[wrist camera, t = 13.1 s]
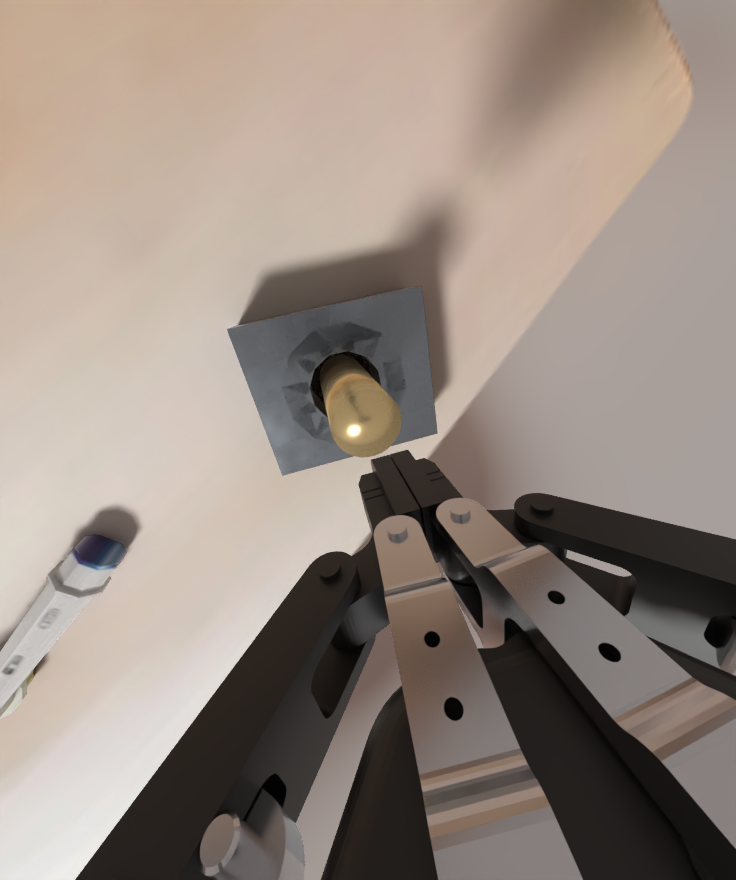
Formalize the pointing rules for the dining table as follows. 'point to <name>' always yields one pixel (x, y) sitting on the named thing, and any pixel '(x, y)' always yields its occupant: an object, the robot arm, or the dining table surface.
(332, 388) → the brass plug
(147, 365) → the dining table surface
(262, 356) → the plate
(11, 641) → the white electric toothbrush
